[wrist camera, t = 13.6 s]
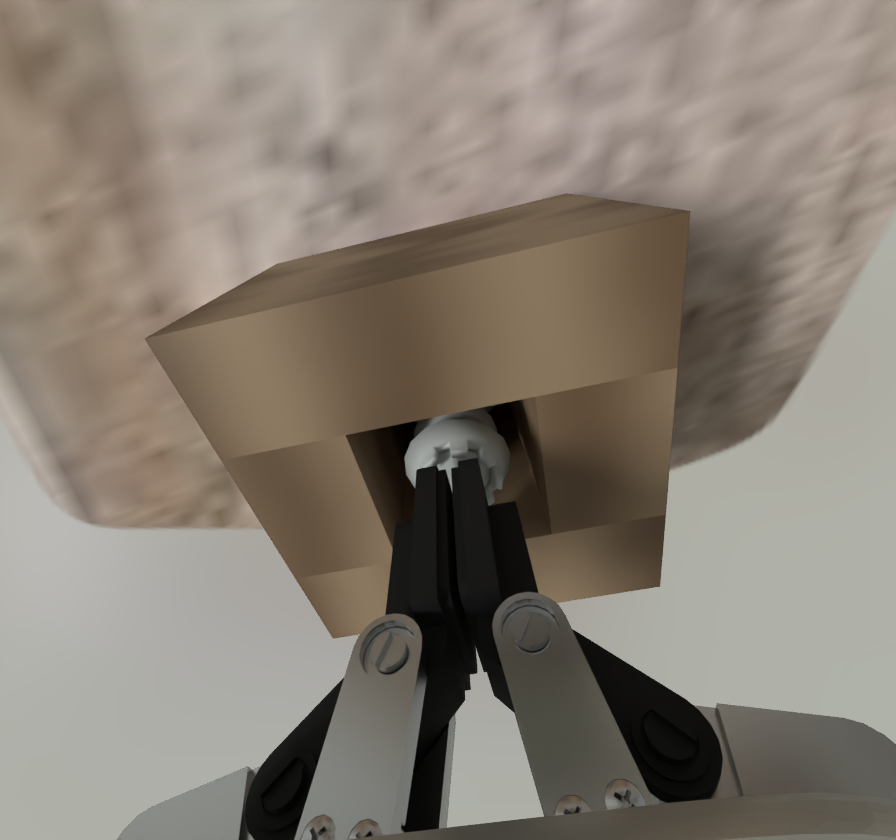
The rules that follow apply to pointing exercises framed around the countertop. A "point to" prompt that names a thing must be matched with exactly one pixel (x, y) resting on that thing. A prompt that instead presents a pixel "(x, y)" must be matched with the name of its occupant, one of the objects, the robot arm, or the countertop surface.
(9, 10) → the countertop surface
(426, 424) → the rook chess piece
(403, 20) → the countertop surface
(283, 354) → the socket block
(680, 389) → the countertop surface
